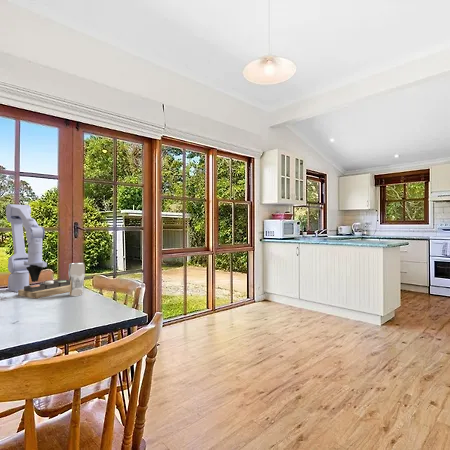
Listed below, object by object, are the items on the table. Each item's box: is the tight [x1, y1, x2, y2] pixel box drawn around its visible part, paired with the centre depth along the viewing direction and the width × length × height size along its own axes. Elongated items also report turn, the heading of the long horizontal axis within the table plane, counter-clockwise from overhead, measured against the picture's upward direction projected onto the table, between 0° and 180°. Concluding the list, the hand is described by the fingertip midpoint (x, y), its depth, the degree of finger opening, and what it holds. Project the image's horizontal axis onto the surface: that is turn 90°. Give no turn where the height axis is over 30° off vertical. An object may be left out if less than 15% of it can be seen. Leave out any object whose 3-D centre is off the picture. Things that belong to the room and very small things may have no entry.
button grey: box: [43, 280, 54, 285], centre depth 152 cm, size 4×4×2 cm
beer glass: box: [68, 262, 86, 297], centre depth 147 cm, size 7×7×15 cm
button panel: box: [17, 279, 70, 299], centre depth 151 cm, size 14×21×4 cm, turn 154°
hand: (34, 281), depth 145 cm, fingers closed
